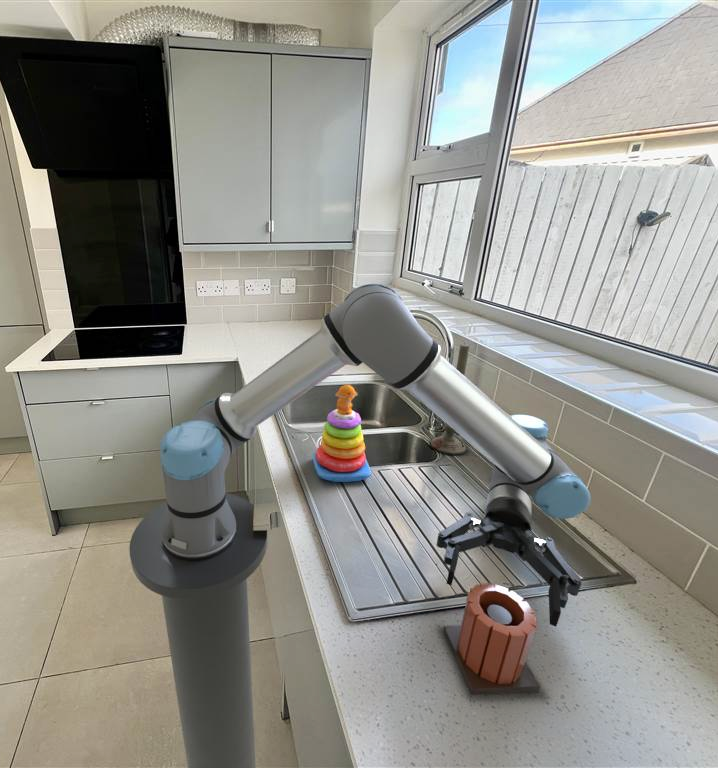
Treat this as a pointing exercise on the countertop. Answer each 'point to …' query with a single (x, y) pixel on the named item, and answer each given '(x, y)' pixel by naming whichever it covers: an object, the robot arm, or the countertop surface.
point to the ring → (496, 634)
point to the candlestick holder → (448, 441)
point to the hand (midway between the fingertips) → (499, 597)
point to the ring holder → (474, 681)
